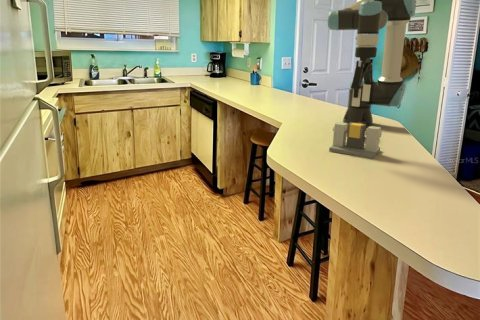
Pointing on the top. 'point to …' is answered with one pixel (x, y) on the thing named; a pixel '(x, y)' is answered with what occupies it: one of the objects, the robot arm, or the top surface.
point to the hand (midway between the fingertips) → (360, 103)
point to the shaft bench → (356, 141)
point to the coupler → (356, 130)
